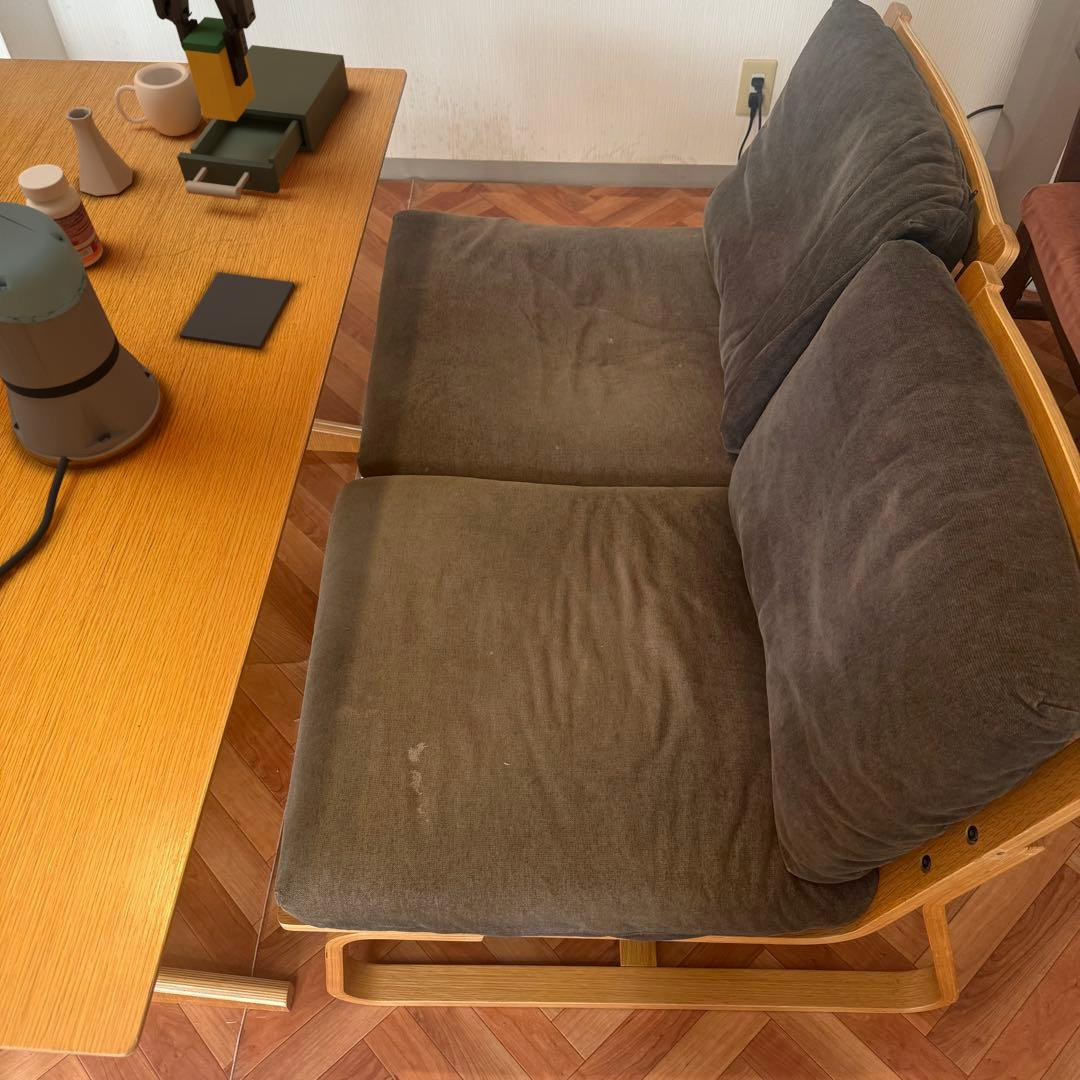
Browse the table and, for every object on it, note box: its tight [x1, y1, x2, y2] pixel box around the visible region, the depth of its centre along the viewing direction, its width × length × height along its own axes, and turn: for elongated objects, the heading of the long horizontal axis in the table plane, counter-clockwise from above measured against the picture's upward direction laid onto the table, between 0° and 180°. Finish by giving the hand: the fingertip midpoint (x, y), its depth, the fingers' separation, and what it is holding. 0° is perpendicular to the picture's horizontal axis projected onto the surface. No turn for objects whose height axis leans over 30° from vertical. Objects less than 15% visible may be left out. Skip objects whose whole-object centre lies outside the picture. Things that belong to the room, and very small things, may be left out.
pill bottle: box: [17, 163, 104, 268], centre depth 110 cm, size 6×6×11 cm
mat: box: [179, 272, 296, 350], centre depth 109 cm, size 12×10×1 cm
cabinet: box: [210, 44, 350, 153], centre depth 133 cm, size 18×15×6 cm
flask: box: [65, 106, 134, 197], centre depth 120 cm, size 7×7×10 cm
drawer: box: [176, 113, 304, 201], centre depth 124 cm, size 22×13×4 cm, turn 170°
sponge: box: [182, 16, 256, 122], centre depth 115 cm, size 7×4×10 cm, turn 170°
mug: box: [114, 61, 202, 137], centre depth 130 cm, size 12×8×8 cm
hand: (222, 78), depth 116 cm, fingers closed on sponge, 4 cm apart
